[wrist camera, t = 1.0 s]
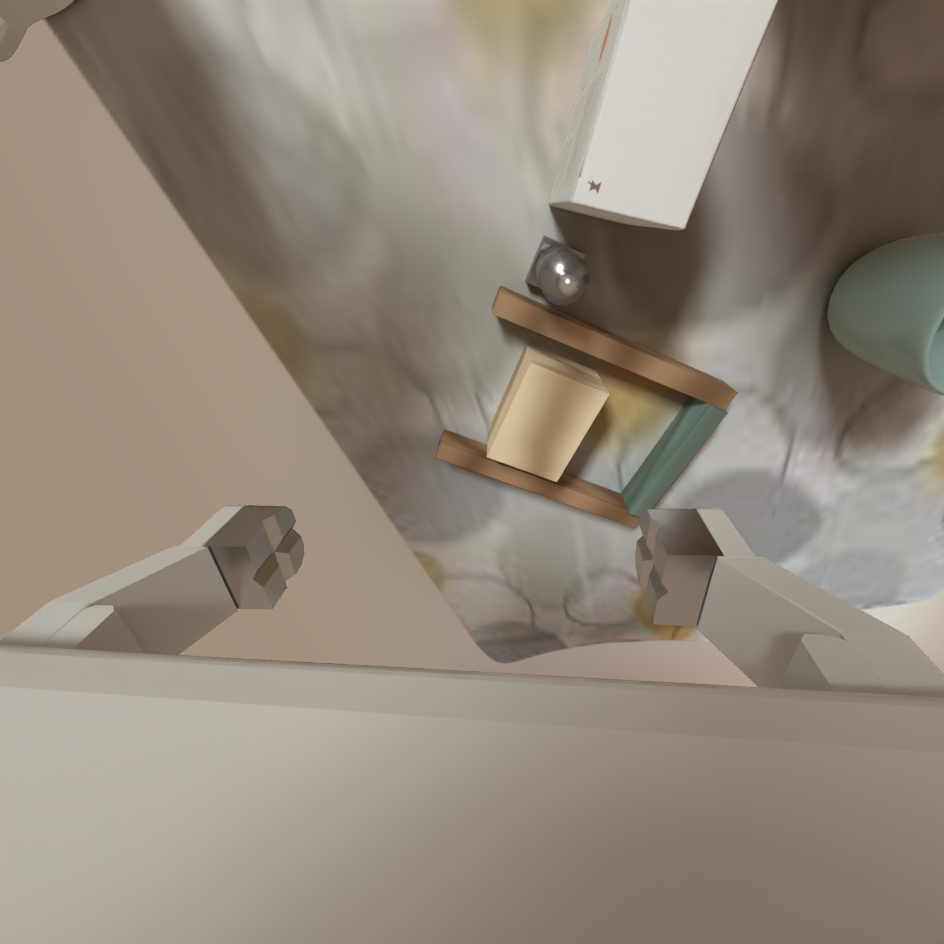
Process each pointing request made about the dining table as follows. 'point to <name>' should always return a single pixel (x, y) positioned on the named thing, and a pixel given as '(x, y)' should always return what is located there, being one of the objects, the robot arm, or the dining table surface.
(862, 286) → the cup
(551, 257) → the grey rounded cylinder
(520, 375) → the tan tapered block
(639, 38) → the small box
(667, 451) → the bay
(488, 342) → the dining table surface
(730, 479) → the dining table surface
